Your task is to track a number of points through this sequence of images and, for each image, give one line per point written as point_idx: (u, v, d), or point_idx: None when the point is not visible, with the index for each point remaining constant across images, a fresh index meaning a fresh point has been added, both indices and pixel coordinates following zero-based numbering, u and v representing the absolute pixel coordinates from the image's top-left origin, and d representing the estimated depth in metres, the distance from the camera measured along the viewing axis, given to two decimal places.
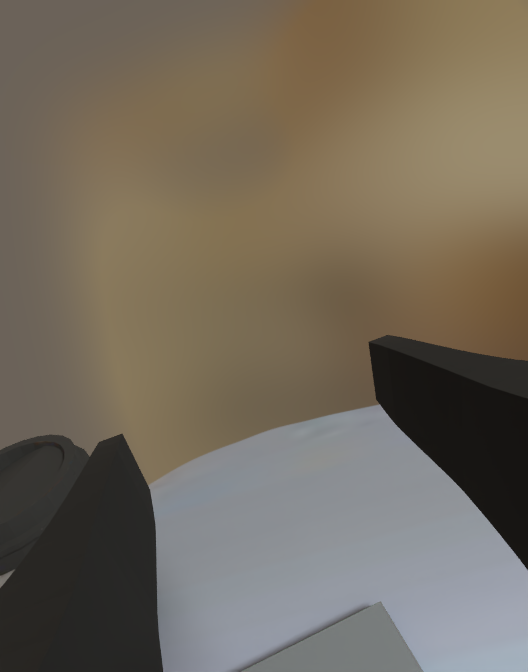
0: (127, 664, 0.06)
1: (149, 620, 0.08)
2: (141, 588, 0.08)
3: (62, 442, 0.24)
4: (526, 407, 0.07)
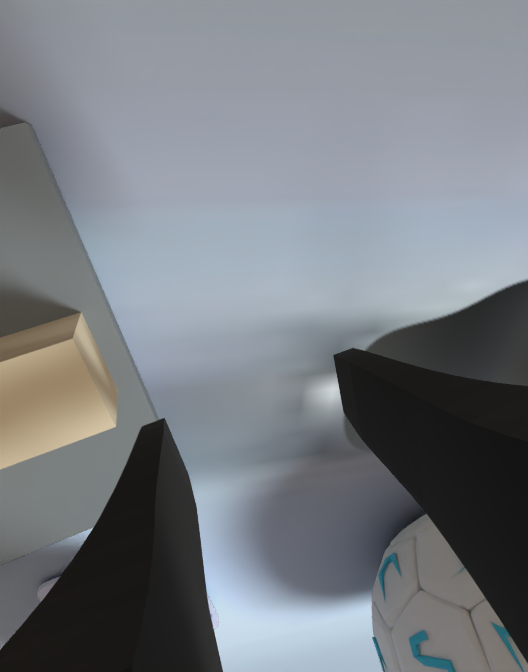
0: (194, 633, 0.07)
1: (202, 596, 0.08)
2: (193, 565, 0.08)
3: None
4: (470, 432, 0.07)
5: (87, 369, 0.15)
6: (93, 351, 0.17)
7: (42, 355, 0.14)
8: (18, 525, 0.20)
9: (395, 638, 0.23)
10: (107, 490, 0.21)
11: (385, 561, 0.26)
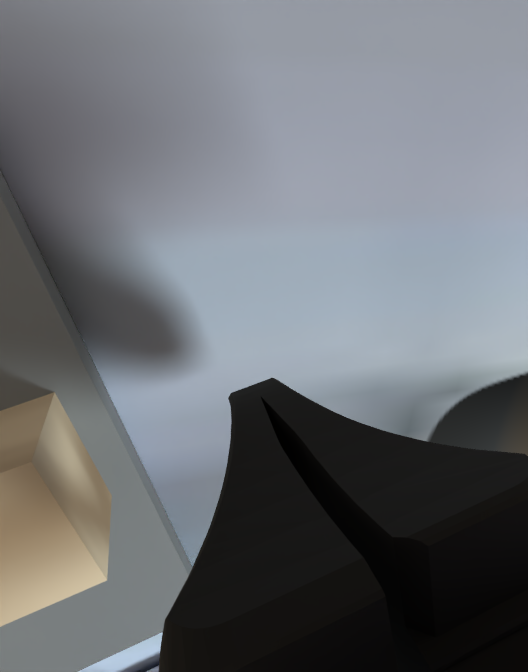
0: None
1: None
2: None
3: None
4: (337, 489, 0.06)
5: (58, 504, 0.09)
6: (72, 455, 0.11)
7: None
8: None
9: None
10: (97, 624, 0.15)
11: None
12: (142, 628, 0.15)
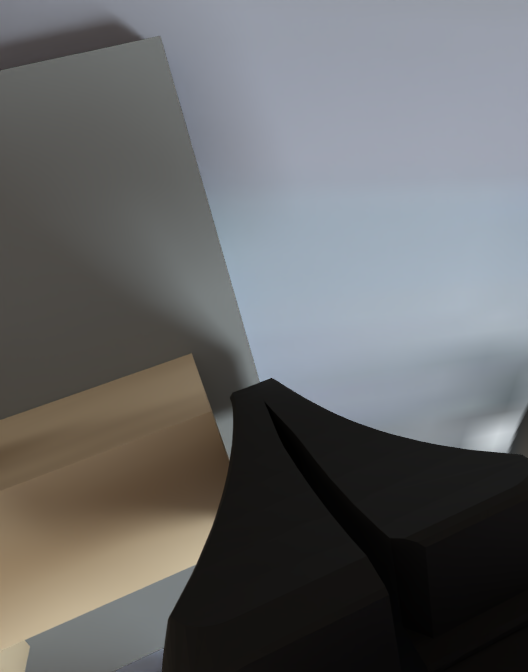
0: None
1: None
2: None
3: None
4: (335, 490, 0.06)
5: (227, 457, 0.09)
6: (213, 415, 0.11)
7: (161, 440, 0.08)
8: (98, 640, 0.14)
9: None
10: None
11: None
12: None
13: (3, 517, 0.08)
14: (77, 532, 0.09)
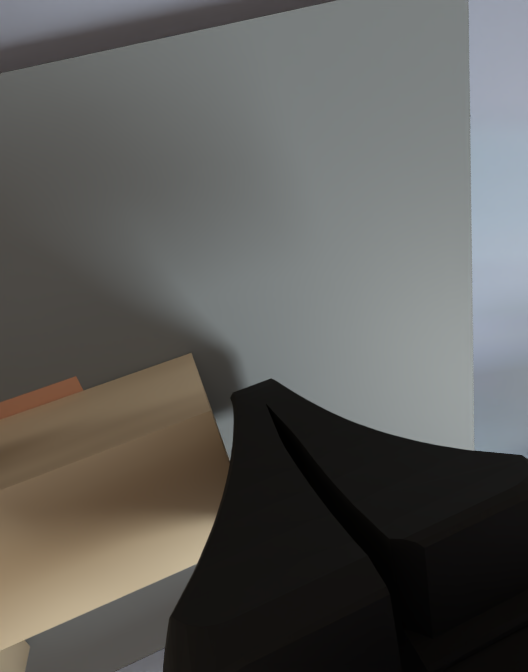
0: None
1: None
2: None
3: None
4: (334, 490, 0.06)
5: (226, 456, 0.09)
6: (213, 414, 0.11)
7: (160, 439, 0.08)
8: None
9: None
10: None
11: None
12: None
13: (3, 517, 0.08)
14: (77, 531, 0.09)
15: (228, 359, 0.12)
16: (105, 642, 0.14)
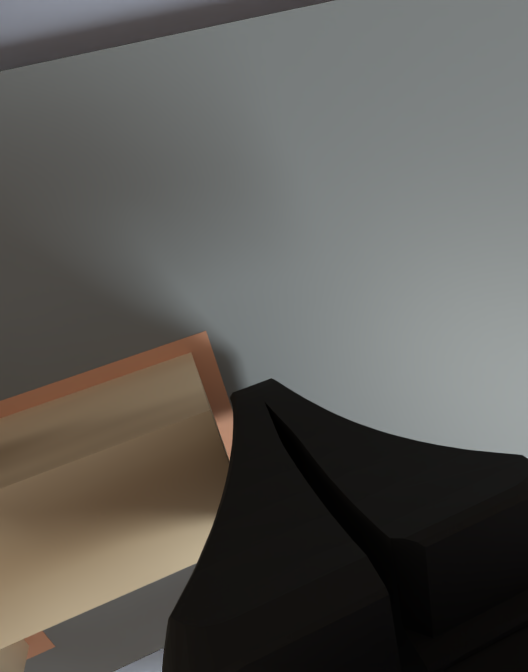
0: None
1: None
2: None
3: None
4: (335, 490, 0.06)
5: (226, 456, 0.09)
6: None
7: (160, 438, 0.08)
8: None
9: None
10: None
11: None
12: None
13: (2, 516, 0.08)
14: (75, 531, 0.09)
15: (339, 319, 0.12)
16: None
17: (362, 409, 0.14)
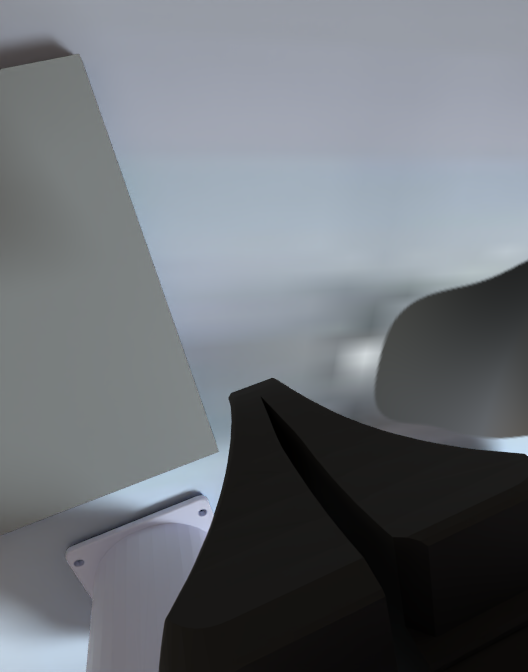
0: None
1: None
2: None
3: None
4: (336, 489, 0.06)
5: None
6: None
7: None
8: (51, 482, 0.20)
9: None
10: (141, 449, 0.20)
11: None
12: (172, 458, 0.21)
13: None
14: None
15: None
16: None
17: None
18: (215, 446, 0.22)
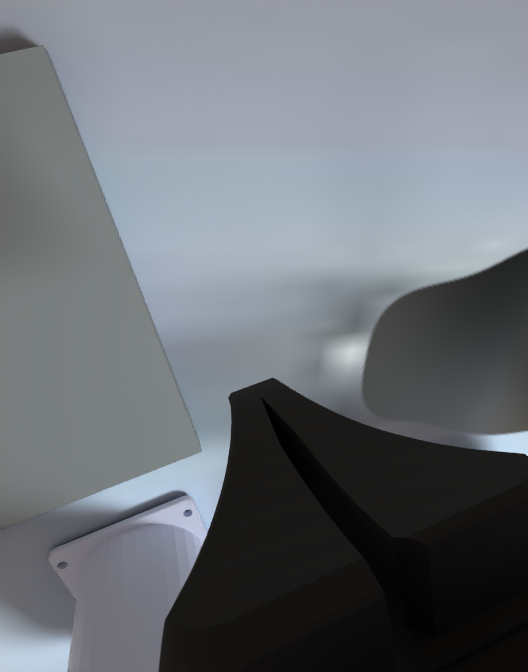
0: None
1: None
2: None
3: None
4: (337, 489, 0.06)
5: None
6: None
7: None
8: (30, 484, 0.19)
9: None
10: (121, 449, 0.20)
11: None
12: (154, 458, 0.21)
13: None
14: None
15: None
16: None
17: None
18: (198, 446, 0.21)
